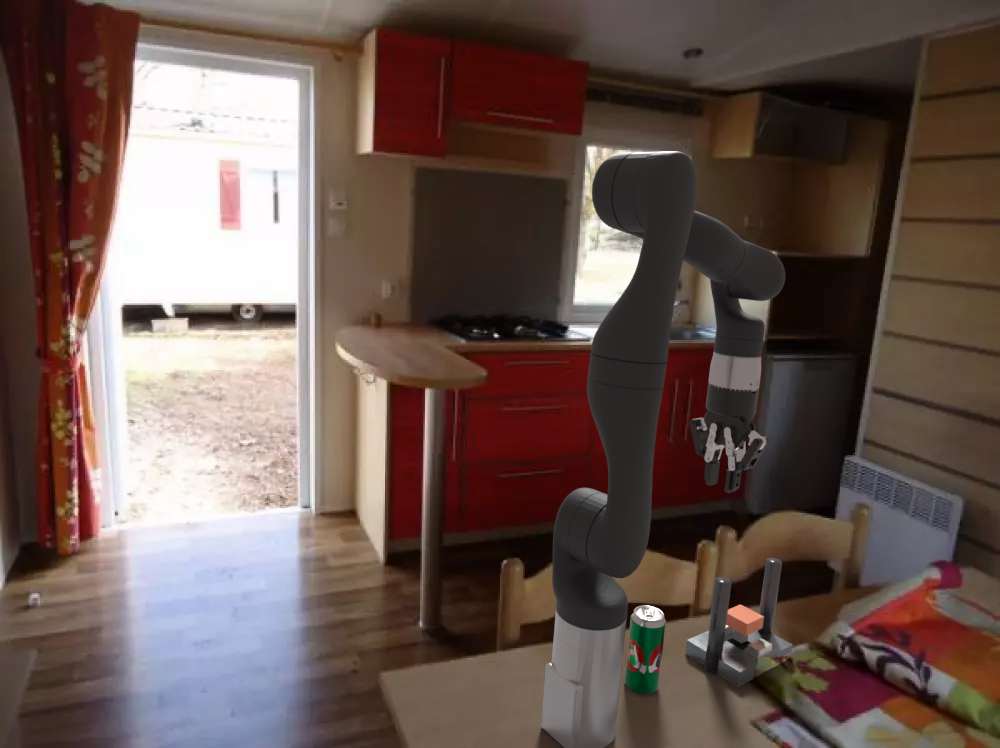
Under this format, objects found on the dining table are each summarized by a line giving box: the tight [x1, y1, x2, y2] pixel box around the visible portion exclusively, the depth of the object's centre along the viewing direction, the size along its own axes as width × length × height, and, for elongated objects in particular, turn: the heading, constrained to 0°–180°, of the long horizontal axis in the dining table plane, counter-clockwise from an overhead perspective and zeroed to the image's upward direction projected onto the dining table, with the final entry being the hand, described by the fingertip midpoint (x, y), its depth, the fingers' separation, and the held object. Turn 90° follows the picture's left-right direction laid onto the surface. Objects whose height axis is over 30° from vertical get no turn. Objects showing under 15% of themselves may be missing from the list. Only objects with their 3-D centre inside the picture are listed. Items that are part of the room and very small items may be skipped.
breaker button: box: [726, 604, 764, 643], centre depth 114 cm, size 4×4×4 cm
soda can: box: [624, 604, 667, 696], centre depth 105 cm, size 5×5×12 cm
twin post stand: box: [685, 557, 794, 688], centre depth 114 cm, size 16×10×15 cm, turn 126°
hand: (720, 487), depth 114 cm, fingers open, 3 cm apart
